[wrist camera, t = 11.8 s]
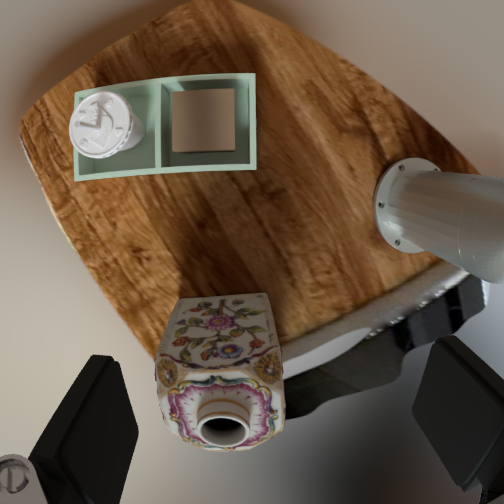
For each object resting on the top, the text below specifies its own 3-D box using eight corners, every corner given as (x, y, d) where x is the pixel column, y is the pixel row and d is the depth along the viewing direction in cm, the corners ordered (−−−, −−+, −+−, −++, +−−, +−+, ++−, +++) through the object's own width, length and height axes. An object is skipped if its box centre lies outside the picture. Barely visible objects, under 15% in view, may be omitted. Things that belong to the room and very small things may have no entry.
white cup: (112, 166, 34) (51, 169, 21) (101, 117, 33) (39, 98, 19) (161, 150, 34) (119, 141, 21) (150, 99, 33) (105, 66, 19)
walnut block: (234, 100, 33) (234, 88, 27) (235, 151, 35) (234, 148, 29) (182, 103, 33) (172, 91, 27) (182, 153, 35) (172, 151, 29)
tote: (252, 85, 33) (255, 73, 29) (253, 169, 36) (256, 169, 31) (92, 99, 32) (75, 92, 28) (92, 179, 35) (74, 181, 30)
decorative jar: (268, 289, 40) (291, 376, 23) (272, 365, 43) (290, 464, 26) (174, 296, 40) (137, 384, 22) (188, 370, 43) (169, 469, 25)
